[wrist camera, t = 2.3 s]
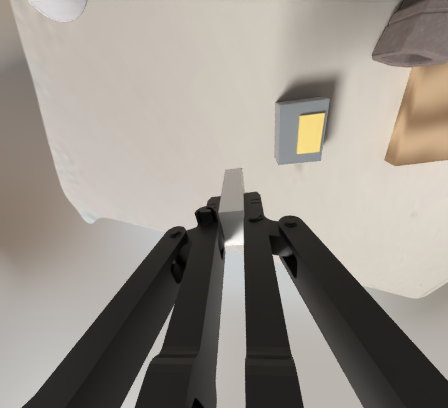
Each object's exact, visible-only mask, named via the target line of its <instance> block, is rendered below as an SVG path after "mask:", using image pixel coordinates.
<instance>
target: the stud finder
mask: <svg viewBox="0 0 448 408" xmlns="http://www.w3.org/2000/svg"><path fill="white" fill-rule="evenodd" d="M329 102H330V99H329V98H324V97H313V98H305V99H298V100H291V101H283V102H276V103H275V158H276V161H277V163H278V165H281V164H292V163H303V162H313V161H321V155H322V148H323V142H324V135H325V129H326V122H327V115H328V109H329Z"/></svg>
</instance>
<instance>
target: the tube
mask: <svg viewBox="0 0 448 408" xmlns="http://www.w3.org/2000/svg"><path fill="white" fill-rule="evenodd" d="M372 59H373V60H375V61H378V62H381V63H384V64H387V65H390V66H399V67H418V66H431V65H442V64H445V63H446V62H447V61H448V0H404V2H403V4H402V5H401V7H400V9H399V11H398V12H396V13H395V14H394V15H393V16H392V18H391V20H390V21H389V25H388V26H387V27H386V29H385V31H384V33H383V34H382V36H381V38H380V40H379V42H378V44H377V46H376V48H375V50H374V52H373V54H372Z"/></svg>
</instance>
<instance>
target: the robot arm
mask: <svg viewBox="0 0 448 408" xmlns="http://www.w3.org/2000/svg"><path fill="white" fill-rule="evenodd" d="M195 216H196V219H197V222H198V225H197V227H196V228H193V229H190V230H187V231H186V229H185V228H184V227H181V226H177V227H173V228H171V229H169V230H168V231H167V232H166V233H165V234H164V236H163V237H162V238H161V239H160V241H159V242H158V243H157V244H156V246H155V247H154V248H153V249H152V250H151V252H150V253H149V254H148V256H147V257H146V258H145V259H144V260H143V262H142V263H141V264H140V266H139V267H138V268H137V269H136V270H135V272H134V273H133V274H132V275H131V277H130V278H129V279H128V280H127V281H126V283H125V284H124V285H123V286H122V288H121V289H120V290H119V291H118V293H117V294H116V295H115V296H114V298H113V299H112V300H111V302H110V303H109V304H108V305H107V306H106V308H105V309H104V310H103V311H102V313H101V314H100V315H99V316H98V318H97V319H96V320H95V321H94V322H93V324H92V325H91V326H90V327H89V329H88V330H87V331H86V332H85V334H84V335H83V336H82V337H81V339H80V340H79V341H78V342H77V343H76V345H75V346H74V347H73V348H72V350H71V351H70V352H69V353H68V355H67V356H66V357H65V358H64V360H63V361H62V362H61V363H60V365H59V366H58V367H57V368H56V370H55V371H54V372H53V373H52V375H51V376H50V377H49V378H48V380H47V381H46V382H45V383H44V384H43V386H42V387H41V388H40V389H39V391H38V392H37V393H36V394H35V396H34V397H32V398H31V399H30V400H29V401H28V402H27V403H26V404H25V405H24V406H23V407H22V408H120V407H121V405H122V403H123V402H124V400H125V398H126V396H127V394H128V392H129V390H130V388H131V386H132V384H133V382H134V380H135V378H136V377H137V375H138V373H139V371H140V369H141V367H142V365H143V363H144V361H145V359H146V357H147V356H148V353H149V352H150V350H151V348H152V346H153V344H154V342H155V340H156V338H157V336H158V334H159V333H160V330H161V329H162V327H163V325H164V323H165V321H166V319H167V317H168V315H169V313H170V311H171V310H172V307H173V306H174V309H173V312H172V315H171V319H170V322H169V326H168V329H167V333H166V336H165V340H164V343H163V346H162V349H161V351H160V353H159V354H158V355H157V356H155V357H154V358H153V359H152V361H151V362H150V364H149V366H148V369H147V371H146V374H145V377H144V380H143V384H142V386H141V390H140V393H139V396H138V399H137V402H136V406H135V408H216V403H217V398H216V382H215V380H216V365H217V353H218V340H219V339H218V338H219V327H220V314H221V313H220V312H221V301H222V288H223V275H224V263H225V247H224V242H225V245H226V246H229V245H242V244H244V270H245V271H244V272H245V310H246V311H245V312H246V359H245V393H246V408H304V406H303V401H302V396H301V391H300V386H299V381H298V376H297V372H296V367H295V363H294V360H293V357H292V354H291V350H290V345H289V340H288V335H287V330H286V324H285V319H284V314H283V308H282V304H281V298H280V293H279V288H278V282H277V277H276V271H275V266H274V261H273V256H272V254H273V255H278V256H279V257H280V259H281V261H282V263H283V265H284V266H285V268H286V270H287V272H288V274H289V275H290V277H291V279H292V281H293V283H294V284H295V286H296V288H297V290H298V291H299V293H300V295H301V297H302V299H303V300H304V302H305V304H306V306H307V307H308V309H309V311H310V313H311V315H312V316H313V318H314V320H315V322H316V323H317V325H318V327H319V329H320V330H321V332H322V334H323V336H324V338H325V340H326V341H327V343H328V345H329V347H330V348H331V350H332V352H333V354H334V356H335V357H336V359H337V361H338V363H339V365H340V366H341V368H342V370H343V372H344V373H345V375H346V377H347V379H348V380H349V382H350V384H351V386H352V388H353V389H354V391H355V393H356V395H357V397H358V398H359V400H360V402H361V404H362V405H363V407H364V408H448V380H447V379H445V377H444V376H443V375H442V374H441V373H440V372H439V371H438V369H437V368H436V367H435V366H434V365H433V364H432V363H431V362H430V361H429V360H428V359H427V357H426V356H425V355H424V354H423V353H422V352H421V351H420V350H419V349H418V347H417V346H416V345H415V344H414V343H413V342H412V341H411V340H410V339H409V338H408V336H407V335H406V334H405V333H404V332H403V331H402V330H401V329H400V328H399V326H398V325H397V324H396V323H395V322H394V321H393V320H392V319H391V318H390V317H389V315H387V313H386V312H385V311H384V310H383V309H382V308H381V307H380V306H379V305H378V303H377V302H376V301H375V300H374V299H373V298H372V297H371V296H370V294H369V293H368V292H367V291H366V290H365V289H364V288H363V287H362V286H361V285H360V283H359V282H358V281H357V280H356V279H355V278H354V277H353V276H352V275H351V273H350V272H349V271H348V270H347V269H346V268H345V267H344V266H343V265H342V264H341V262H340V261H339V260H338V259H337V258H336V257H335V256H334V255H333V254H332V253H331V251H330V250H329V249H328V248H327V247H326V246H325V245H324V244H323V243H322V241H321V240H320V239H319V238H318V237H317V236H316V235H315V234H314V233H313V232H312V230H311V229H310V228H309V227H308V226H307V225H306V224H305V223H304V222H303V221H302V220H301V219H300V218H299V217H296V216H284V217H282V218H281V219H280V220H279V221H272V220H269V219H267V218H266V217H265V216H264V213H263V207H262V202H261V197H260V194H259V193H258V192H250V193H245V188H244V180H243V172H242V168H237V169H230V170H225V174H224V181H223V187H222V193H221V196H218V197H211V198H210V199H209V200H208V202H207V206H205V207H201V208H199V209H198V210H197V211H196V212H195ZM174 304H175V305H174Z"/></svg>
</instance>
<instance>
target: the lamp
mask: <svg viewBox="0 0 448 408" xmlns="http://www.w3.org/2000/svg"><path fill="white" fill-rule="evenodd" d="M28 1H29V2H30V4H31V5H33V6H34V7H35V8H36V9H37V10H38V11H39V12H41V13H42V14H43V15H45V16H46V17H48V18H50V19H52V20H55V21H59V22H69V21H73V20H75V19H76V18H77V17H79V16H80V15H81V13H82V12H83V10H84V8H85V5H86V2H87V0H28Z"/></svg>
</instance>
